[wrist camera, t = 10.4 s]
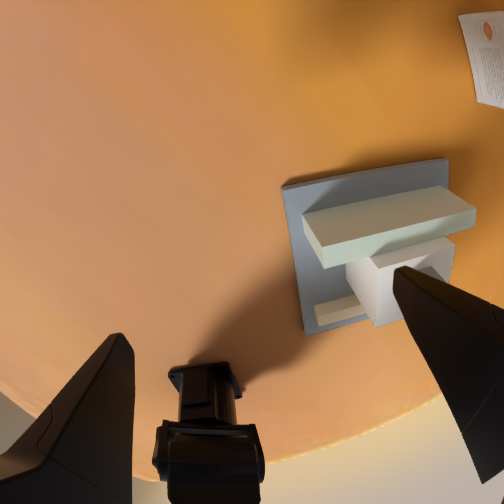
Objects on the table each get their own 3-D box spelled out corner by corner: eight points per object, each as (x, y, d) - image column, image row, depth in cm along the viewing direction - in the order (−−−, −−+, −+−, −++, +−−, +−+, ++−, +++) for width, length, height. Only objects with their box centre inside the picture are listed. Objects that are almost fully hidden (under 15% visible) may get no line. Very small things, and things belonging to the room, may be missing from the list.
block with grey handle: (407, 261, 24) (472, 339, 16) (345, 278, 24) (398, 372, 16) (410, 208, 22) (492, 279, 13) (342, 224, 22) (411, 313, 13)
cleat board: (431, 291, 28) (458, 325, 23) (304, 330, 28) (318, 375, 23) (443, 157, 21) (488, 180, 16) (280, 187, 21) (300, 219, 16)
